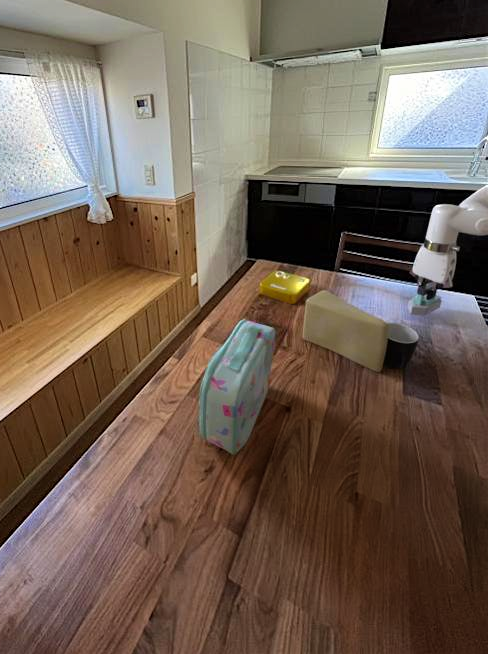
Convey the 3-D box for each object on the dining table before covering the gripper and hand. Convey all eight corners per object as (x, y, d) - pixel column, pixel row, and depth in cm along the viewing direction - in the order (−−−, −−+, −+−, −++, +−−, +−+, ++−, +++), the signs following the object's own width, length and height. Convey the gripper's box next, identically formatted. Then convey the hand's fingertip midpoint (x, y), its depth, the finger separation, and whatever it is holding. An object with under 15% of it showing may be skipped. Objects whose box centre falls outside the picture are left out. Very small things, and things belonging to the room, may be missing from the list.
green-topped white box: (422, 300, 116) (428, 278, 113) (439, 307, 112) (446, 285, 108) (402, 310, 112) (407, 288, 108) (419, 318, 107) (425, 295, 104)
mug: (370, 349, 99) (376, 320, 95) (404, 352, 97) (411, 323, 93) (381, 379, 88) (388, 348, 84) (419, 383, 86) (429, 352, 82)
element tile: (257, 293, 131) (257, 282, 129) (275, 278, 141) (275, 268, 139) (294, 305, 122) (295, 294, 120) (310, 288, 132) (311, 277, 130)
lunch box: (238, 368, 95) (238, 303, 86) (274, 379, 90) (279, 313, 81) (195, 447, 74) (190, 373, 65) (239, 467, 69) (241, 390, 60)
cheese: (389, 364, 93) (400, 319, 87) (370, 380, 88) (381, 334, 82) (319, 327, 110) (324, 287, 104) (300, 339, 105) (304, 298, 99)
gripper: (475, 250, 98) (458, 304, 105) (419, 235, 111) (407, 284, 118) (461, 257, 95) (445, 311, 102) (405, 240, 108) (394, 290, 115)
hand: (425, 296), depth 110 cm, fingers closed on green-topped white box, 2 cm apart
